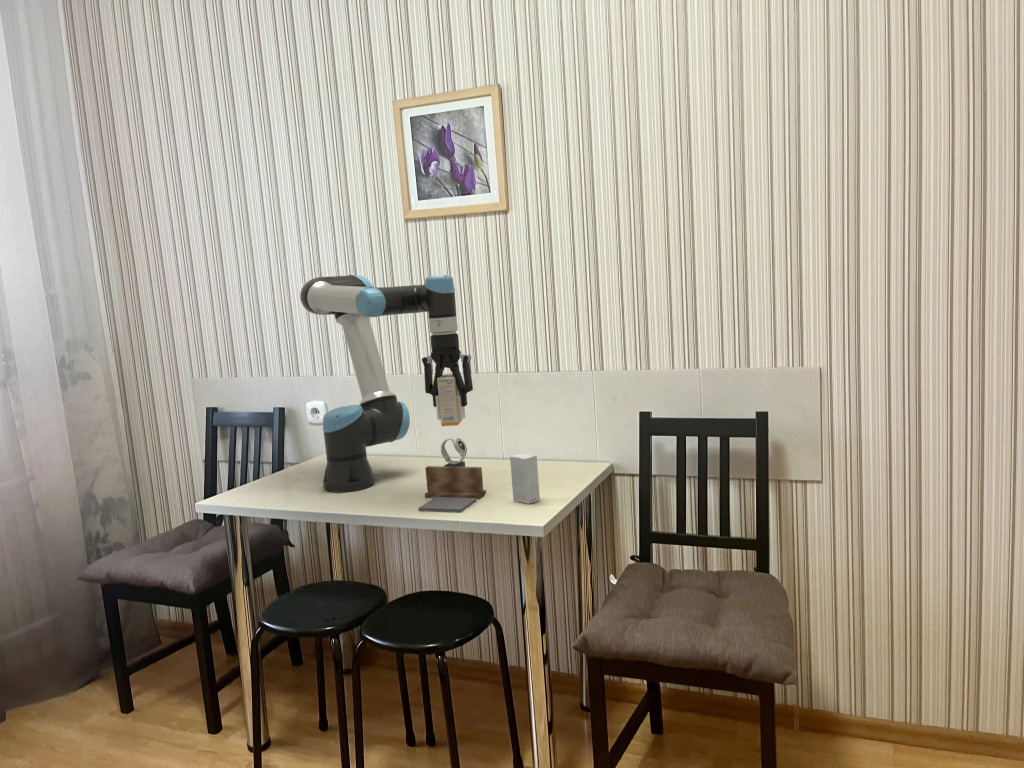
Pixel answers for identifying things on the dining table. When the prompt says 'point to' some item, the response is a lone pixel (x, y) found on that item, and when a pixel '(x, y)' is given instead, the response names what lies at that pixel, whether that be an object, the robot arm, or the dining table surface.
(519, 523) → the dining table surface
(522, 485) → the skincare box
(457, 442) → the watch
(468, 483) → the stepped wooden ledge
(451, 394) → the supplement box
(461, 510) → the pad
